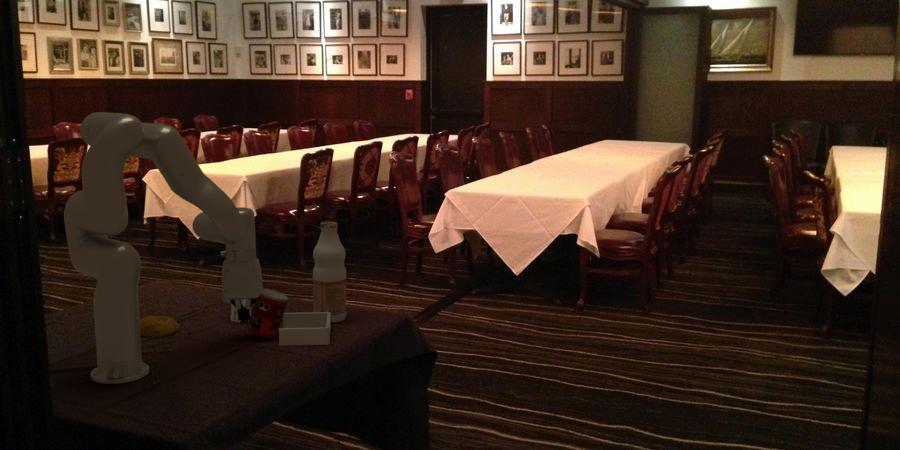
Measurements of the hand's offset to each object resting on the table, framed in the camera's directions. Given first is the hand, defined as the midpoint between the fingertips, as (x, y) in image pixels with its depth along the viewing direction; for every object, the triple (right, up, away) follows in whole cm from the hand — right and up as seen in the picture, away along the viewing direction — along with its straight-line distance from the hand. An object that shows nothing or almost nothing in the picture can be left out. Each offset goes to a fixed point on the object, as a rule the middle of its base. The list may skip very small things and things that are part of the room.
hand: (244, 322), depth 217 cm
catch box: (+16, -4, +2) cm, 17 cm away
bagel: (-24, -3, +3) cm, 24 cm away
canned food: (+4, -3, 0) cm, 5 cm away
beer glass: (-5, -1, +16) cm, 17 cm away
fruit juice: (+20, -1, +18) cm, 27 cm away
